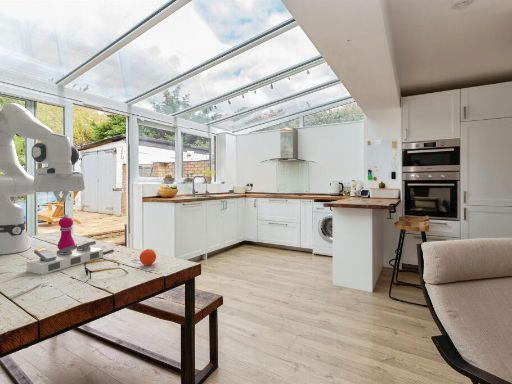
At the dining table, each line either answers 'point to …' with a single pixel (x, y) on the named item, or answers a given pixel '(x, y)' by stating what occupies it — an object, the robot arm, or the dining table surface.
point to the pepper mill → (65, 233)
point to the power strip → (65, 260)
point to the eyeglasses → (101, 269)
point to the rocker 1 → (45, 254)
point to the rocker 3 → (86, 245)
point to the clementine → (148, 257)
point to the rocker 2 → (66, 249)
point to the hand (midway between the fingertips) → (61, 201)
